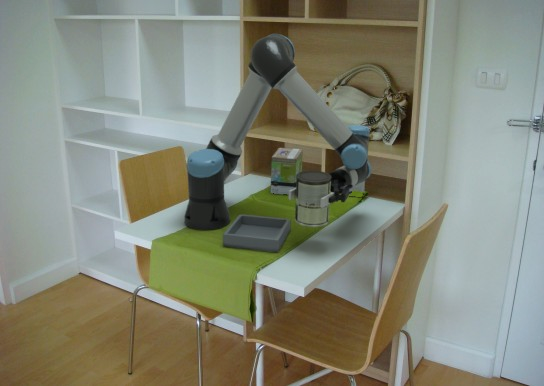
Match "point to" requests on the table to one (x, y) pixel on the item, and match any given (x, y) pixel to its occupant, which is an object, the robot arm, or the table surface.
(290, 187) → the tea box
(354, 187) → the skincare box
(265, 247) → the grey square tray
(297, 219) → the coffee can
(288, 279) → the table surface
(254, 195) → the table surface
